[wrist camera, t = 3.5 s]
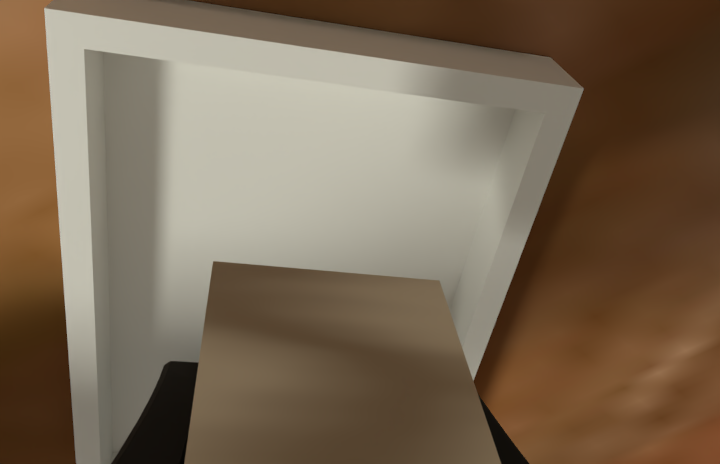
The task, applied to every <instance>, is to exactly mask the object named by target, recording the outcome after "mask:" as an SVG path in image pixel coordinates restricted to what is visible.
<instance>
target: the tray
mask: <svg viewBox="0 0 720 464" xmlns="http://www.w3.org/2000/svg"><path fill="white" fill-rule="evenodd" d="M44 11H45V25H46V39H47V54H48V68H49V82H50V97H51V111H52V125H53V140H54V154H55V168H56V183H57V197H58V212H59V226H60V240H61V255H62V269H63V283H64V298H65V312H66V326H67V341H68V355H69V370H70V384H71V398H72V413H73V427H74V441H75V456H76V464H111V463H112V461H113V460H114V458H115V457H116V455H117V454H118V452H119V451H120V449H121V447H122V446H123V444H124V442H125V441H126V439H127V438H128V436H129V434H130V433H131V431H132V429H133V428H134V426H135V424H136V423H137V421H138V419H139V417H140V416H141V414H142V412H143V410H144V408H145V406H146V405H147V403H148V401H149V399H150V397H151V395H152V393H153V391H154V389H155V387H156V384H157V382H158V380H159V377H160V375H161V372H162V369H163V367H164V365H165V364H167V363H168V362H170V361H182V362H199V356H200V349H201V342H202V335H203V328H204V321H205V314H206V307H207V300H208V293H209V286H210V279H211V272H212V265H213V261H218V262H230V263H242V264H253V265H265V266H276V267H288V268H300V269H311V270H323V271H334V272H346V273H358V274H369V275H381V276H393V277H404V278H416V279H427V280H439V281H440V284H441V287H442V290H443V293H444V296H445V299H446V301H447V304H448V307H449V310H450V313H451V316H452V319H453V322H454V325H455V328H456V331H457V334H458V337H459V340H460V343H461V346H462V349H463V352H464V355H465V358H466V361H467V364H468V367H469V370H470V373H471V376H472V378H473V381H474V378H475V375H476V373H477V370H478V367H479V365H480V362H481V359H482V357H483V354H484V352H485V349H486V346H487V344H488V341H489V338H490V336H491V333H492V330H493V328H494V325H495V322H496V320H497V317H498V315H499V312H500V309H501V307H502V304H503V301H504V299H505V296H506V293H507V291H508V288H509V285H510V283H511V280H512V278H513V275H514V272H515V270H516V267H517V264H518V262H519V259H520V256H521V254H522V251H523V249H524V246H525V243H526V241H527V238H528V235H529V233H530V230H531V227H532V225H533V222H534V219H535V217H536V214H537V212H538V209H539V206H540V204H541V201H542V198H543V196H544V193H545V190H546V188H547V185H548V182H549V180H550V177H551V175H552V172H553V169H554V167H555V164H556V161H557V159H558V156H559V153H560V151H561V148H562V145H563V143H564V140H565V138H566V135H567V132H568V130H569V127H570V124H571V122H572V119H573V116H574V114H575V111H576V108H577V106H578V103H579V101H580V98H581V95H582V93H583V90H584V88H583V87H582V86H581V85H580V84H578V83H577V82H576V81H575V80H574V79H573V78H572V77H571V76H570V75H569V74H568V73H567V72H566V71H565V70H564V69H562V68H561V67H560V66H559V65H558V64H557V63H556V62H555V61H554V60H553V59H552V58H551V57H545V56H539V55H533V54H526V53H520V52H514V51H507V50H501V49H495V48H488V47H482V46H475V45H469V44H463V43H456V42H450V41H444V40H437V39H431V38H425V37H418V36H412V35H406V34H399V33H393V32H386V31H380V30H374V29H367V28H361V27H355V26H348V25H342V24H336V23H329V22H323V21H317V20H310V19H304V18H297V17H291V16H285V15H278V14H272V13H266V12H259V11H253V10H247V9H240V8H234V7H227V6H221V5H215V4H208V3H202V2H196V1H189V0H53V1H52V2H51V3H50V4H48V5H47V6H46V7H45V8H44Z"/></svg>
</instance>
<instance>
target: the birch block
mask: <svg viewBox="0 0 720 464" xmlns="http://www.w3.org/2000/svg"><path fill="white" fill-rule="evenodd" d="M184 464H501V461H500V458H499V456H498V453H497V450H496V447H495V444H494V441H493V438H492V435H491V432H490V429H489V426H488V423H487V420H486V417H485V414H484V411H483V408H482V405H481V402H480V399H479V396H478V393H477V390H476V387H475V384H474V381H473V378H472V376H471V373H470V370H469V367H468V364H467V361H466V358H465V355H464V352H463V349H462V346H461V343H460V340H459V337H458V334H457V331H456V328H455V325H454V322H453V319H452V316H451V313H450V310H449V307H448V304H447V301H446V299H445V296H444V293H443V290H442V287H441V284H440V281H439V280H427V279H416V278H404V277H393V276H381V275H369V274H358V273H346V272H334V271H323V270H311V269H300V268H288V267H276V266H265V265H253V264H242V263H230V262H218V261H213V265H212V272H211V279H210V286H209V293H208V300H207V307H206V314H205V321H204V328H203V335H202V342H201V349H200V356H199V363H198V370H197V377H196V385H195V392H194V399H193V406H192V413H191V420H190V427H189V434H188V441H187V448H186V455H185V462H184Z"/></svg>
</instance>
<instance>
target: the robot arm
mask: <svg viewBox="0 0 720 464" xmlns="http://www.w3.org/2000/svg"><path fill="white" fill-rule="evenodd" d="M198 363H199V362H182V361H170V362H168V363H167V364H165V365H164V367H163V369H162V372H161V375H160V377H159V380H158V382H157V384H156V387H155V389H154V391H153V393H152V395H151V397H150V399H149V401H148V403H147V405H146V406H145V408H144V410H143V412H142V414H141V416H140V417H139V419H138V421H137V423H136V424H135V426H134V428H133V429H132V431H131V433H130V434H129V436H128V438H127V439H126V441H125V442H124V444H123V446H122V447H121V449H120V451H119V452H118V454H117V455H116V457H115V458H114V460H113V461H112V463H111V464H184V462H185V455H186V448H187V441H188V434H189V427H190V420H191V413H192V406H193V399H194V392H195V385H196V377H197V370H198ZM478 396H479V395H478ZM479 399H480V402H481V405H482V408H483V411H484V414H485V417H486V420H487V423H488V426H489V429H490V432H491V435H492V438H493V441H494V444H495V447H496V450H497V453H498V456H499V458H500V461H501V464H529V463H528V462H527V460H526V459H525V458H524V456H523V455H522V454H521V452H520V451H519V450H518V449H517V447H516V446H515V445H514V443H513V442H512V441H511V439H510V438H509V437H508V435H507V434H506V433H505V431H504V430H503V428H502V427H501V426H500V424H499V423H498V422H497V420H496V419H495V417H494V416H493V415H492V413H491V412H490V410H489V409H488V408H487V406H486V405H485V403H484V402H483V401H482V399H481V398H480V396H479Z"/></svg>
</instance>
